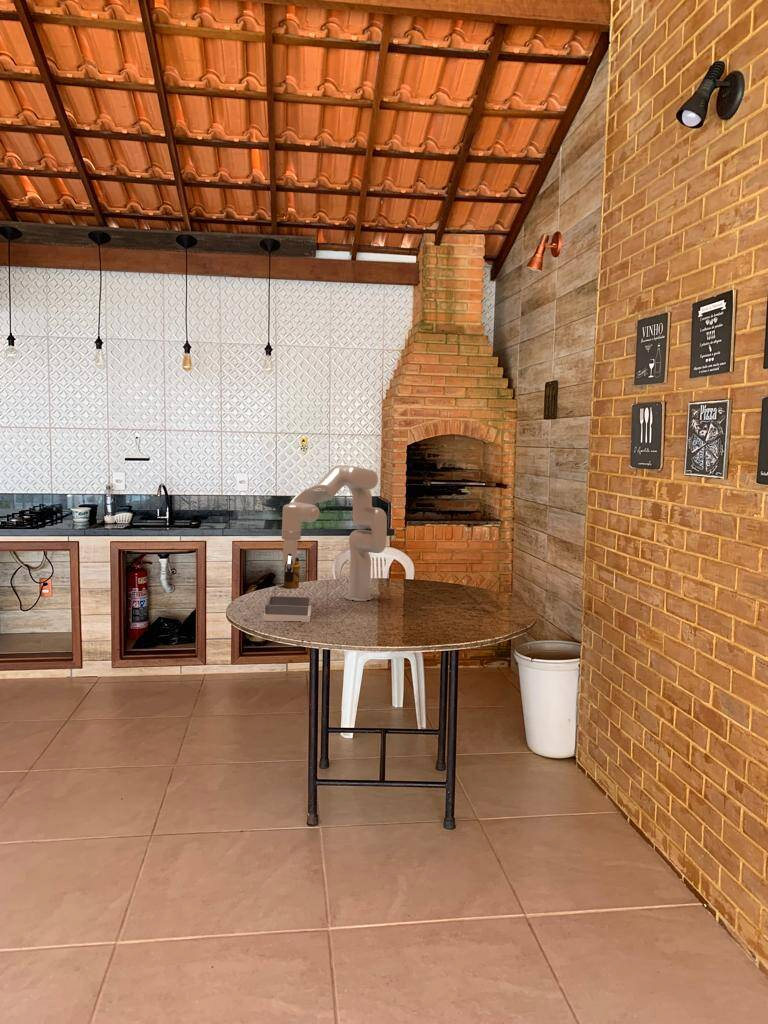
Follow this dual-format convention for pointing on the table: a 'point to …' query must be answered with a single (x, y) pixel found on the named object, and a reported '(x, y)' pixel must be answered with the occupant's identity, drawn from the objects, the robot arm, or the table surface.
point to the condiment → (295, 577)
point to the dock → (287, 609)
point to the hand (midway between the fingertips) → (289, 579)
